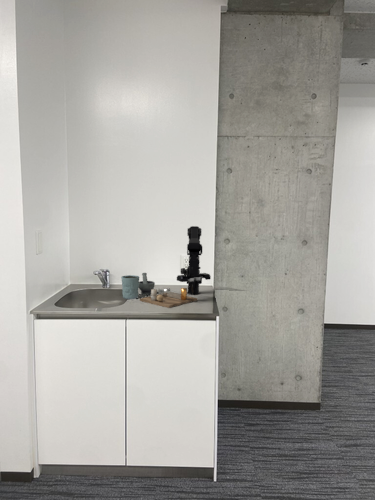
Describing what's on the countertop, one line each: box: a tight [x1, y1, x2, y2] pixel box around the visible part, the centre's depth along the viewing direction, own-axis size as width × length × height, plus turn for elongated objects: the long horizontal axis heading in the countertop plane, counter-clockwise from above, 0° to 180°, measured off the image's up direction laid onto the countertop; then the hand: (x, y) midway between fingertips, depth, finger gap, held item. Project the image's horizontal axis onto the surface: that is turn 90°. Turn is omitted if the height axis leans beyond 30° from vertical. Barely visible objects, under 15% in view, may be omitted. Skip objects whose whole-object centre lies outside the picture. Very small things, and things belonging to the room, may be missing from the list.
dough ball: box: [157, 294, 163, 301], centre depth 224 cm, size 4×4×4 cm
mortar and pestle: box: [138, 272, 156, 296], centre depth 247 cm, size 11×9×12 cm
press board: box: [139, 288, 198, 309], centre depth 230 cm, size 23×22×7 cm
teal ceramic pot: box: [121, 274, 140, 300], centre depth 237 cm, size 10×10×12 cm
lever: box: [158, 287, 188, 300], centre depth 233 cm, size 20×4×6 cm, turn 49°
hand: (193, 292), depth 231 cm, fingers closed
